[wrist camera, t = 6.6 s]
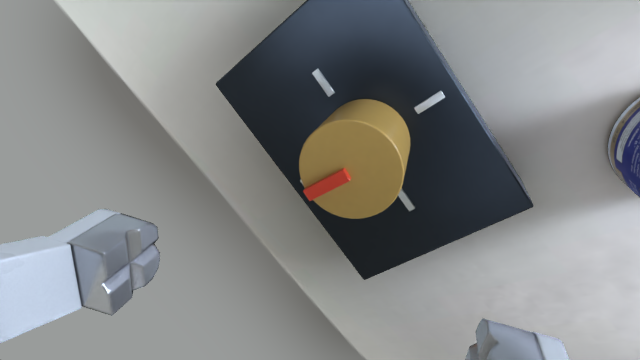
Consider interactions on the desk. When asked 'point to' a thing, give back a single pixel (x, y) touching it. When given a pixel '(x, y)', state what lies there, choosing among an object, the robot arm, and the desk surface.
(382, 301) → the desk surface
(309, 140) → the lock knob
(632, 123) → the pill bottle
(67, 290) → the robot arm
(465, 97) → the plate
